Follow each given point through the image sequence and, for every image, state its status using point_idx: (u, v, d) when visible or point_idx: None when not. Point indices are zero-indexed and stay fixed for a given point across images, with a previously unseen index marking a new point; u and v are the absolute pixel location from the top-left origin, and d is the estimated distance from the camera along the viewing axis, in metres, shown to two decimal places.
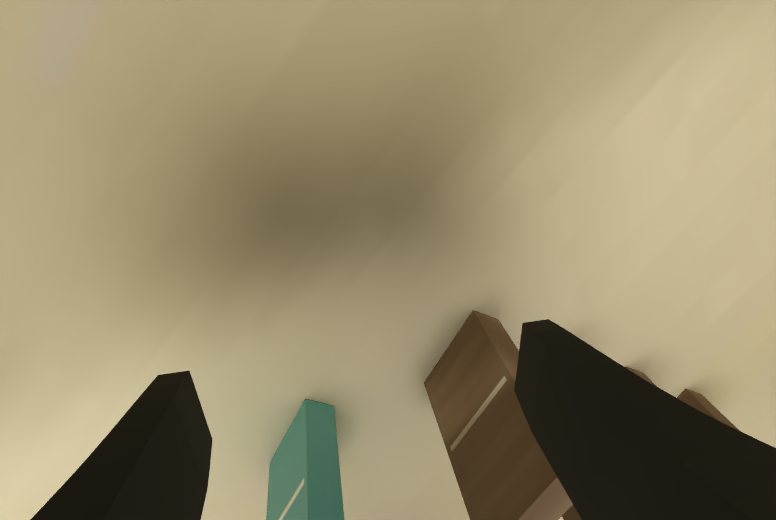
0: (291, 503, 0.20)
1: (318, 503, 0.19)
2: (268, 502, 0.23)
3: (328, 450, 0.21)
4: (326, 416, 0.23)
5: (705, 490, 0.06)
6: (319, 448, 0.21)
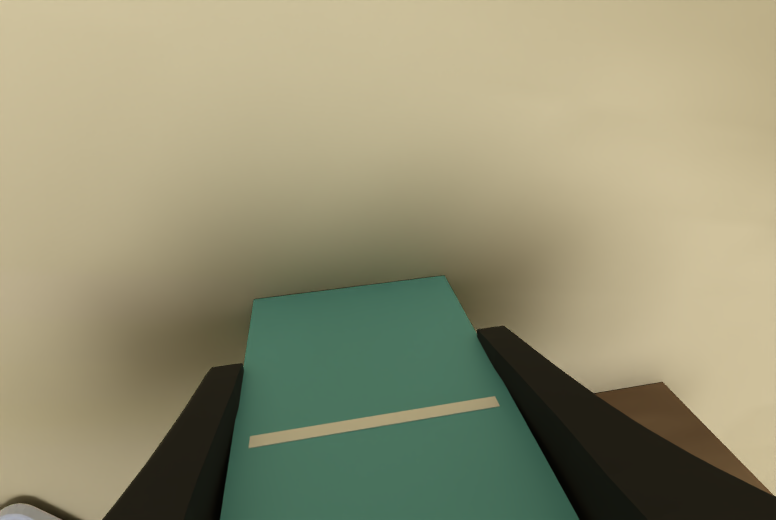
0: (422, 418, 0.08)
1: None
2: (252, 363, 0.09)
3: None
4: None
5: (628, 506, 0.05)
6: None
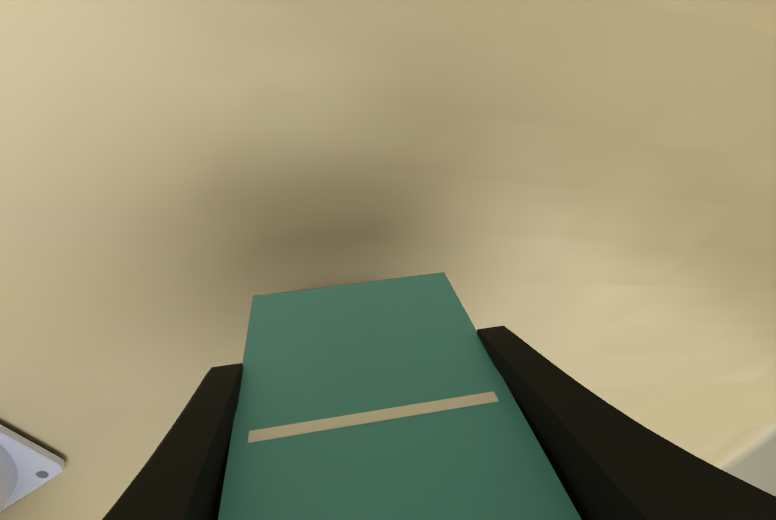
0: (421, 413, 0.08)
1: None
2: (251, 359, 0.09)
3: None
4: None
5: (628, 506, 0.05)
6: None
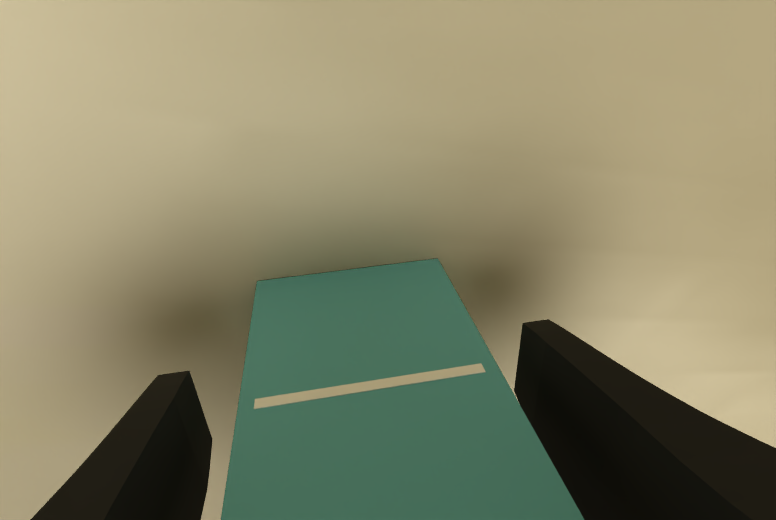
0: (413, 382, 0.09)
1: None
2: (256, 337, 0.10)
3: None
4: None
5: (705, 490, 0.06)
6: None
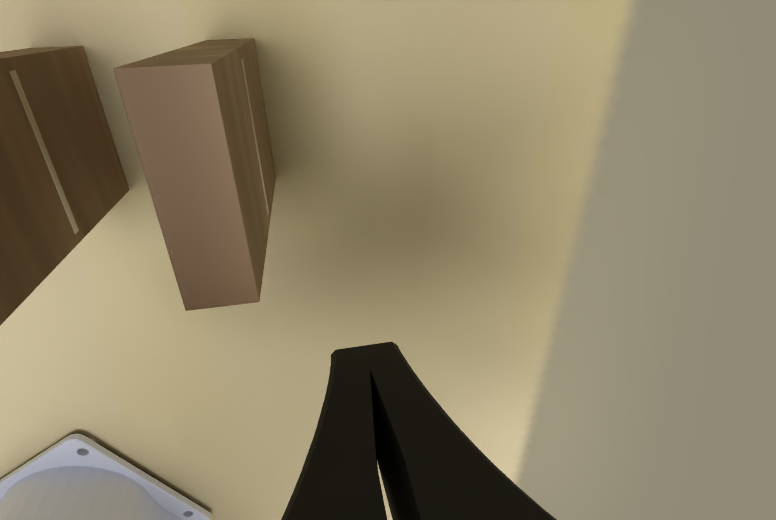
0: None
1: None
2: None
3: None
4: None
5: None
6: None
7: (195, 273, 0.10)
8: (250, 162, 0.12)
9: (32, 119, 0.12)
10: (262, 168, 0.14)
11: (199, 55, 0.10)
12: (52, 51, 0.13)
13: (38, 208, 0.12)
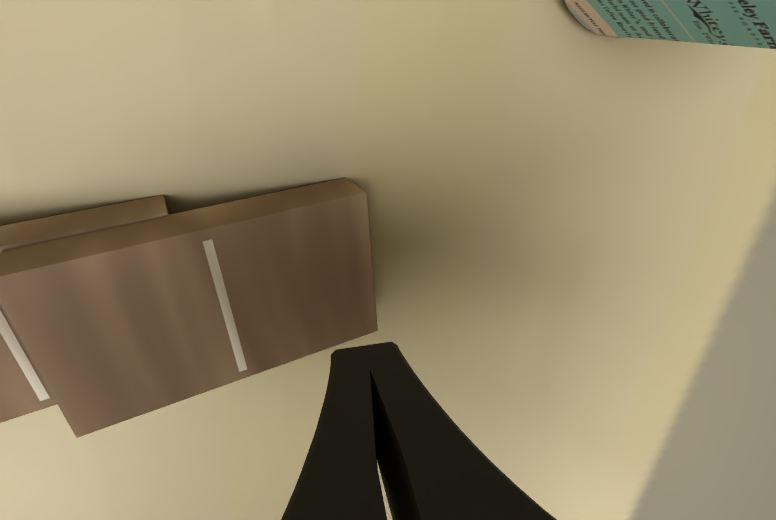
0: None
1: None
2: None
3: None
4: None
5: None
6: None
7: None
8: (157, 332, 0.12)
9: None
10: (254, 330, 0.13)
11: (98, 244, 0.11)
12: (78, 231, 0.12)
13: None
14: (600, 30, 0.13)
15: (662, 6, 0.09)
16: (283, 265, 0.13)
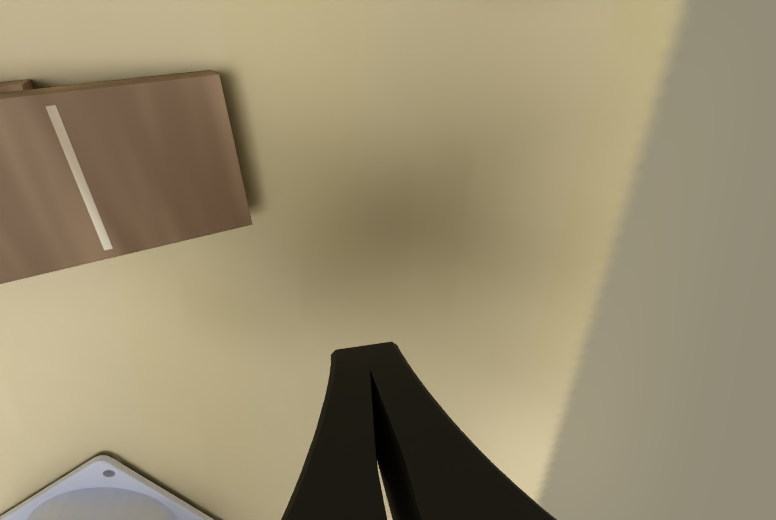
0: None
1: None
2: None
3: None
4: None
5: None
6: None
7: None
8: (8, 197, 0.13)
9: None
10: (114, 207, 0.14)
11: None
12: None
13: None
14: None
15: None
16: (137, 142, 0.14)
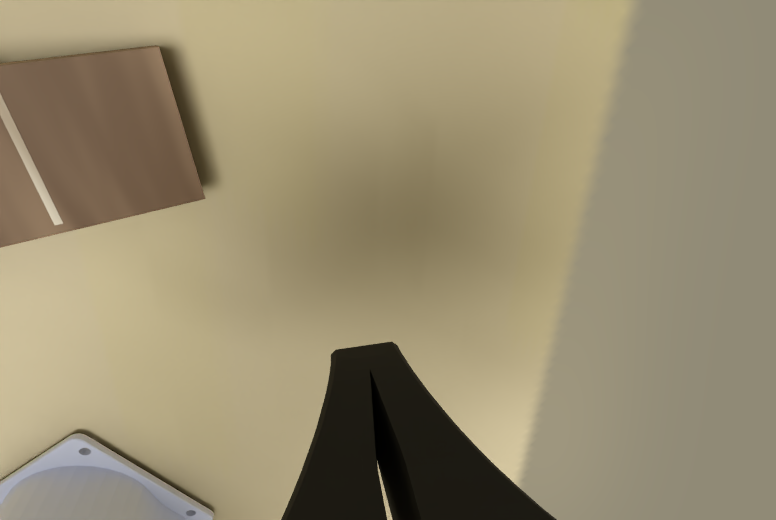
0: None
1: None
2: None
3: None
4: None
5: None
6: None
7: None
8: None
9: None
10: (62, 182, 0.14)
11: None
12: None
13: None
14: None
15: None
16: (80, 115, 0.14)
